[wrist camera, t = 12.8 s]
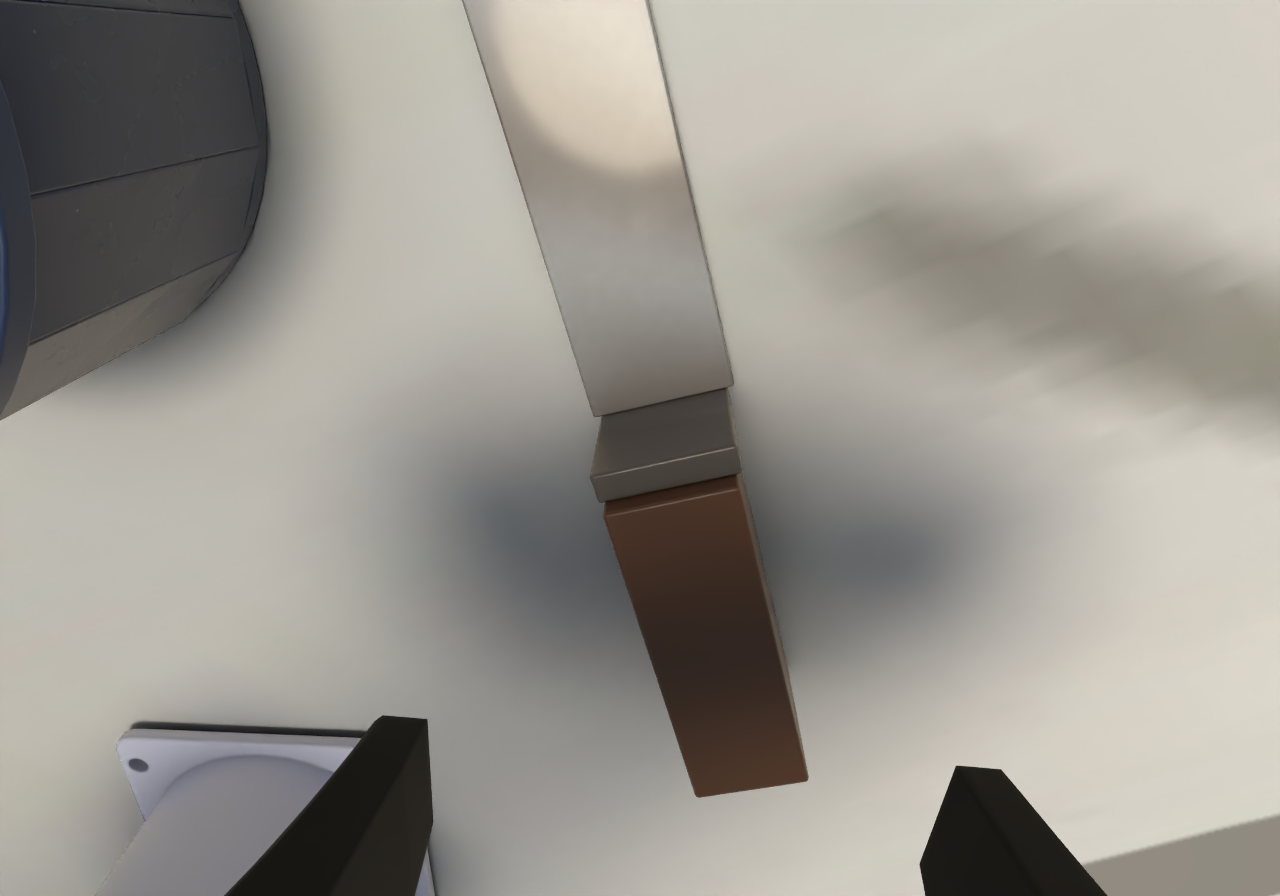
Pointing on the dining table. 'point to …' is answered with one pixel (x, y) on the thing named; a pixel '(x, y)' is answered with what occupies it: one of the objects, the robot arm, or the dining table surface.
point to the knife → (648, 368)
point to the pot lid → (14, 255)
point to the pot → (129, 168)
